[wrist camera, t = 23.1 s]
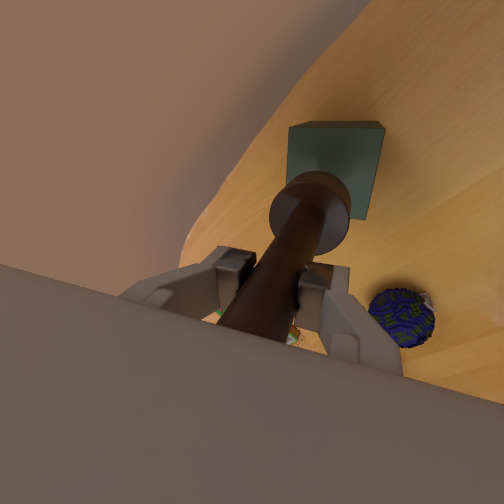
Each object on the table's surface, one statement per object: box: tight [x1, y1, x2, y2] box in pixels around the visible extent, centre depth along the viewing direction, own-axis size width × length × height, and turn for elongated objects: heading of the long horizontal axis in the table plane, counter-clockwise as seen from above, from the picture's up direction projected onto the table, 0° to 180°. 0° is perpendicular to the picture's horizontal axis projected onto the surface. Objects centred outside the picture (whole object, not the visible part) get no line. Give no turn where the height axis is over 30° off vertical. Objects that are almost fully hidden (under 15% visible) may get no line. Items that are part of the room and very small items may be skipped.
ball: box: [368, 288, 436, 348], centre depth 37 cm, size 8×8×8 cm
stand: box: [286, 121, 386, 220], centre depth 29 cm, size 8×8×12 cm
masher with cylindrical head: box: [216, 171, 351, 344], centre depth 12 cm, size 5×5×14 cm
